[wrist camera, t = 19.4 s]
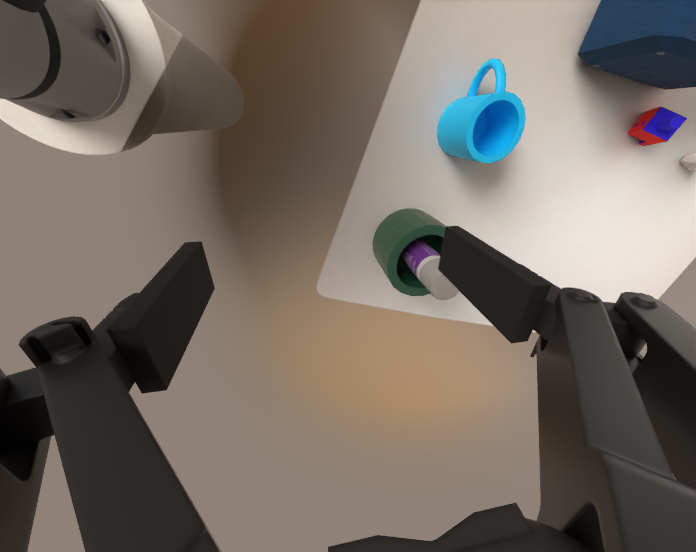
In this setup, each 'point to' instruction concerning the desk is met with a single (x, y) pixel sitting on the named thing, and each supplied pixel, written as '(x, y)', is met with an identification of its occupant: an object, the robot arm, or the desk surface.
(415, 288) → the jar
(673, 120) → the toy building block
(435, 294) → the container
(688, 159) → the grey ring
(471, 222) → the desk surface
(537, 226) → the desk surface
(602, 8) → the radio
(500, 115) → the mug
